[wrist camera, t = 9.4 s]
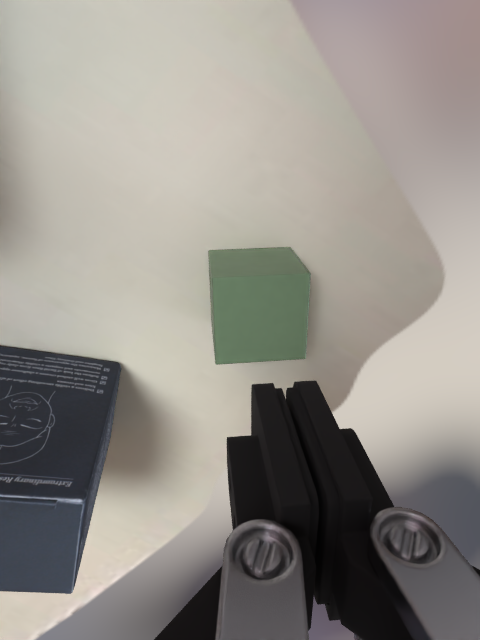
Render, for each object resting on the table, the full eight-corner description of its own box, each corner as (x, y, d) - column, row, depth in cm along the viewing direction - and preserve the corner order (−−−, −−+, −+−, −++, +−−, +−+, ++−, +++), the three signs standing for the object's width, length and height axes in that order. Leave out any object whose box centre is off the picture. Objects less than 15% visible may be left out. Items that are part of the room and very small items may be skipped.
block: (208, 250, 24) (211, 277, 20) (290, 246, 24) (311, 273, 20) (211, 325, 26) (215, 364, 22) (287, 321, 26) (306, 359, 22)
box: (-20, 421, 27) (-136, 591, 17) (-20, 339, 25) (-154, 482, 15) (113, 436, 28) (73, 600, 19) (124, 360, 26) (85, 503, 16)
